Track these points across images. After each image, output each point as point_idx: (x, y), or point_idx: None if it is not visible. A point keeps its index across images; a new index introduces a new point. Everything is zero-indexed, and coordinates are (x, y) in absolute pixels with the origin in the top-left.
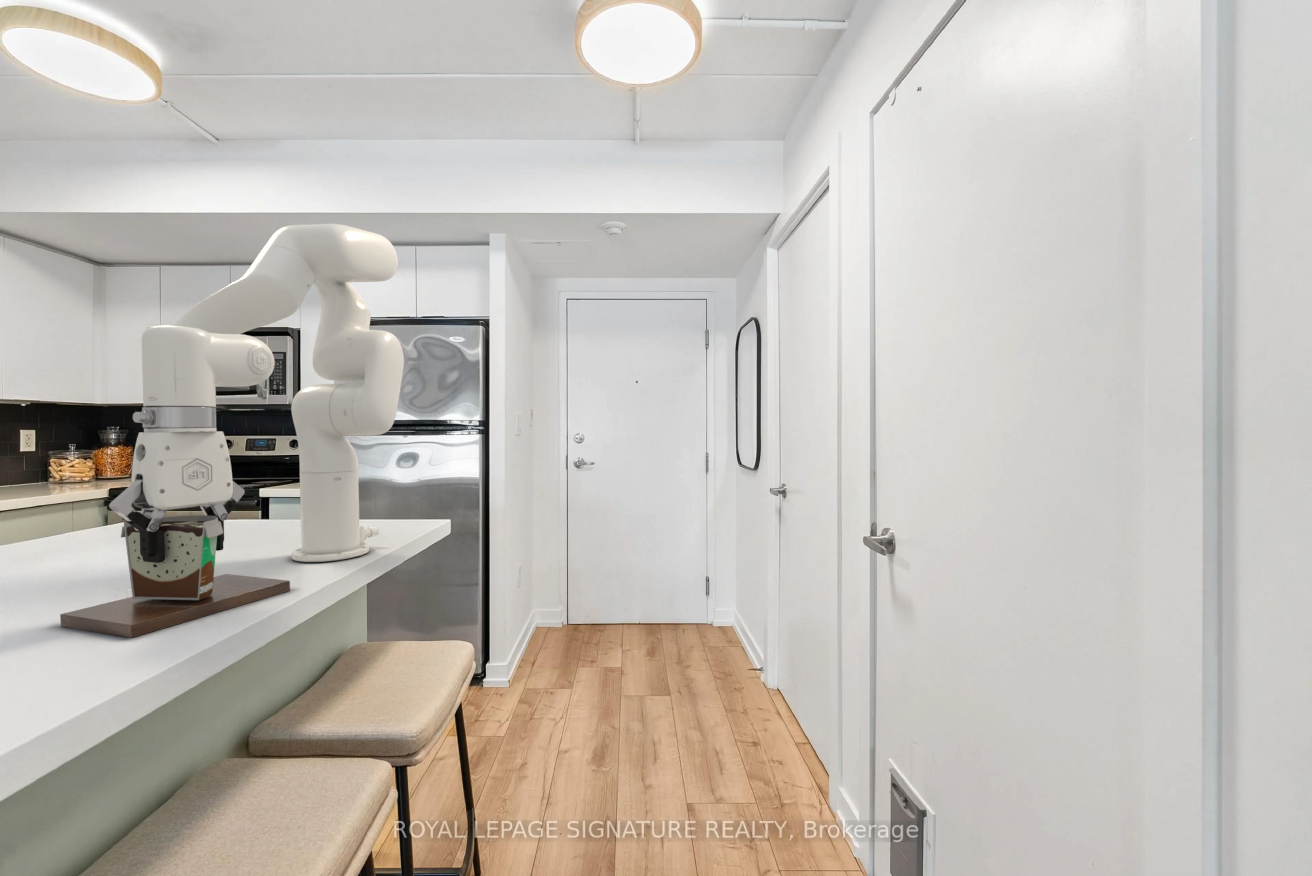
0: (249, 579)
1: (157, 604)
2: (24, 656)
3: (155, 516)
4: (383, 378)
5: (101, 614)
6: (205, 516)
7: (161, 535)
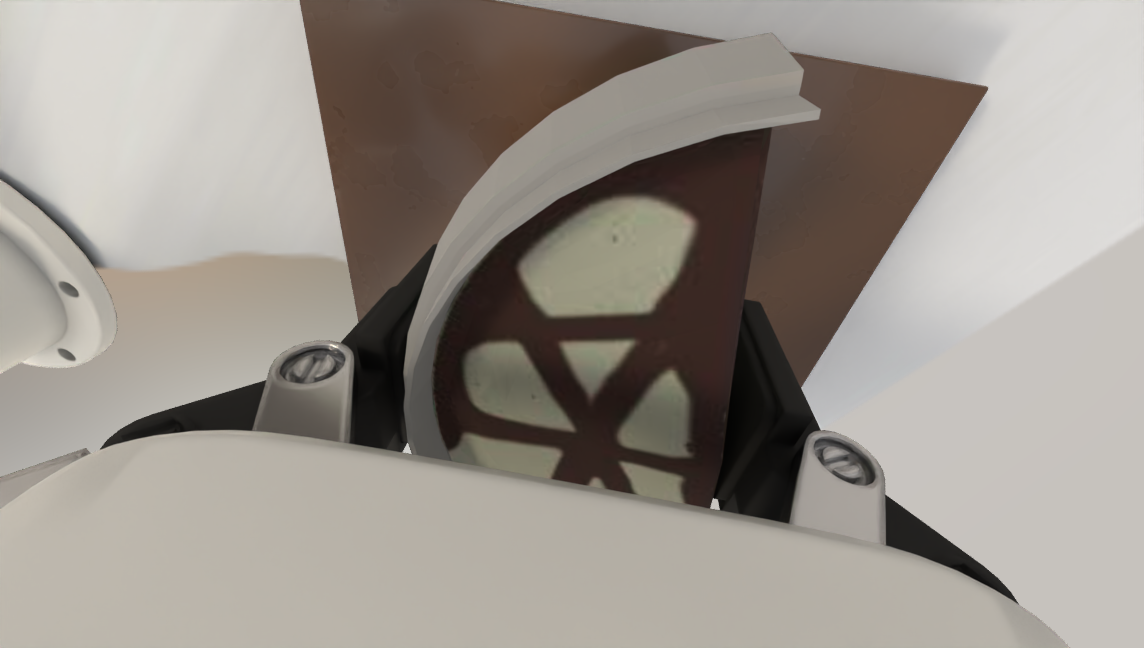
0: (368, 192)
1: None
2: (1056, 258)
3: (870, 534)
4: None
5: (810, 309)
6: (415, 440)
7: (783, 391)
